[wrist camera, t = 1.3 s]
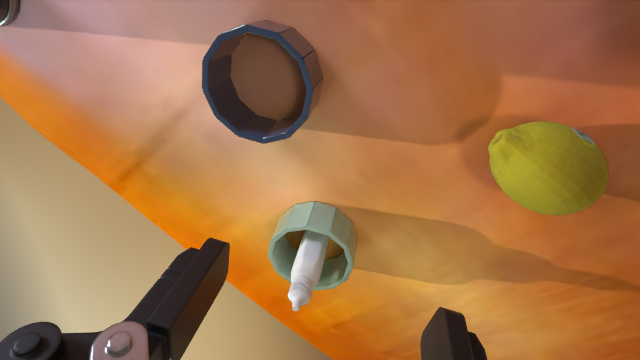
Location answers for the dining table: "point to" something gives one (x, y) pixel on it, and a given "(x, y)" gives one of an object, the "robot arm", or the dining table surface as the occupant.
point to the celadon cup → (318, 221)
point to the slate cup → (225, 95)
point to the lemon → (548, 167)
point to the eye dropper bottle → (307, 267)
